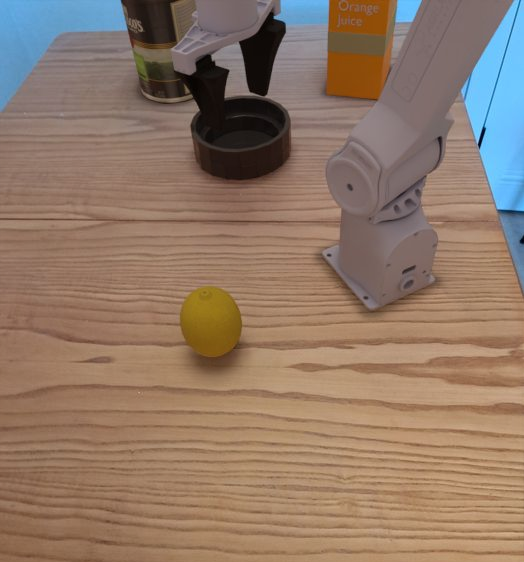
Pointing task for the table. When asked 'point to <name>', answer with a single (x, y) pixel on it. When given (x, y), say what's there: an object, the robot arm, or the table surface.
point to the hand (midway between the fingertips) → (237, 109)
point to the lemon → (210, 321)
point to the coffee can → (158, 44)
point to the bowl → (244, 139)
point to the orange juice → (359, 46)
